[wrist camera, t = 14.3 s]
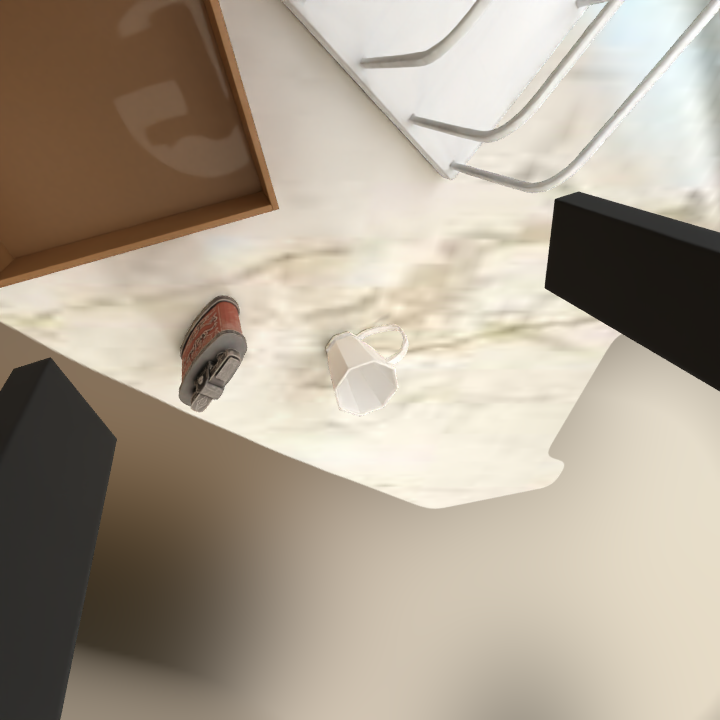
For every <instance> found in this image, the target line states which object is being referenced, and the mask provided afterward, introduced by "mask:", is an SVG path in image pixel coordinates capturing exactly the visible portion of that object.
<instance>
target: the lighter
mask: <svg viewBox="0 0 720 720" xmlns="http://www.w3.org/2000/svg"><path fill="white" fill-rule="evenodd" d="M239 313H240V311H239V307H238V304H237V302H236V301H235V300H234V299H233V298H231V297H228V296H218V297H216V298H215V299H214V300H212V301H211V302H210V303H209V304H208V305H207V306H206V307H205V308H204V309H203V310H202V311H201V313H200V314H199V315H198V316H197V318H196V319H195V320H194V321H193V323H192V325H191V327H190V328H189V330H188V332H187V334H186V335H185V338H184V341H183V343H182V346H181V350H180V356H181V359H182V383H181V385H180V388H179V398H180V400H181V401H182V402H183V403H184V404H186V405H188V406H191V409H192V410H194V411H196V412H203V411H204V410H205V409H206V408H207V406H208V405H209V404H210V402H211V401H212V400H213V399H214V400H215V399H218V398H219V397H220V396H221V395H222V393H223V390H224V387H225V385H226V384H227V383H228V382H229V381H230V380H231V378H232V377H233V375H234V373H235V372H236V370H237V369H238V367H239V366H240V364H241V361H242V359H243V357H244V355H245V353H246V351H247V343H246V339H245V337H244V336H243V335H242V330H241V326H240V321H239Z"/></svg>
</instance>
